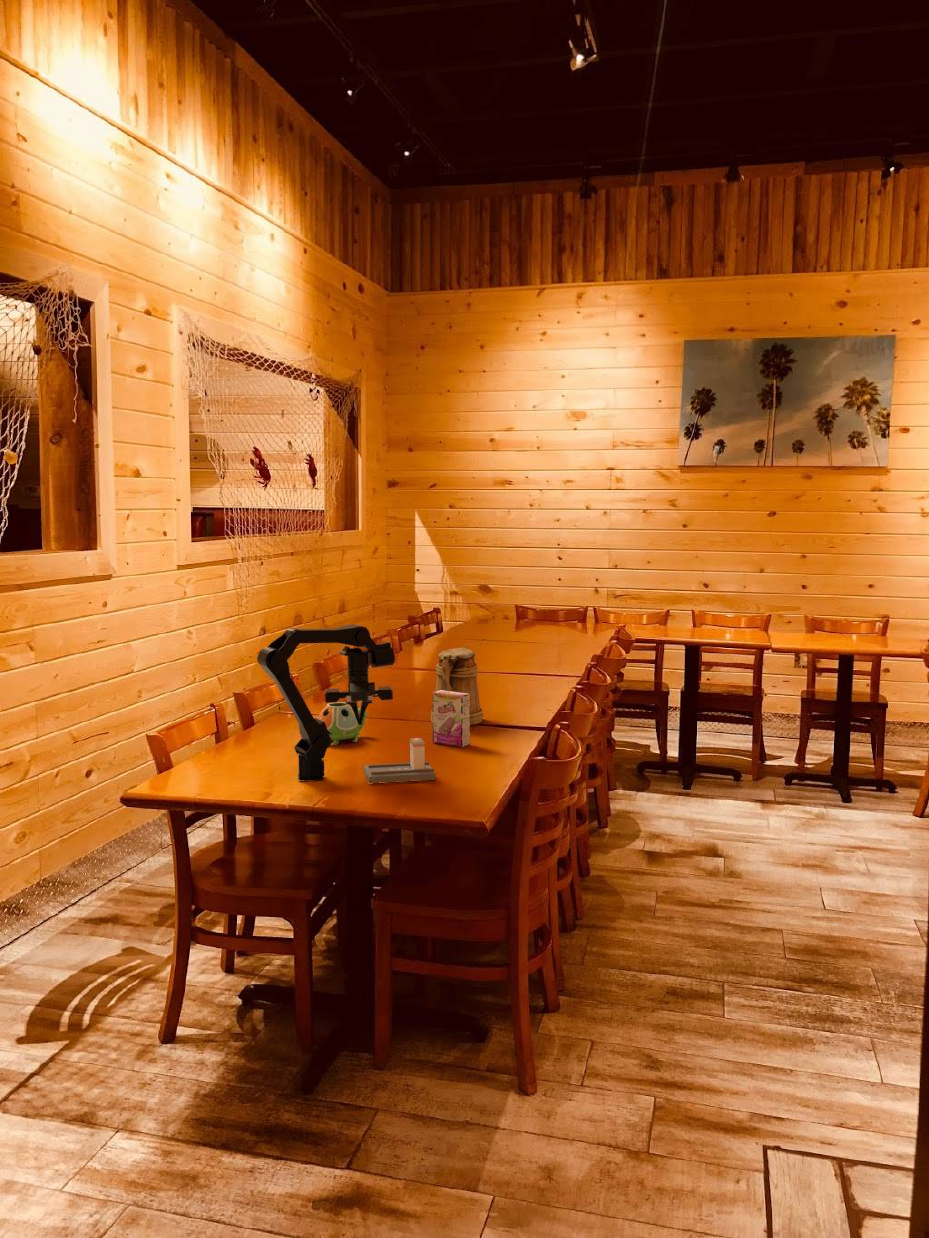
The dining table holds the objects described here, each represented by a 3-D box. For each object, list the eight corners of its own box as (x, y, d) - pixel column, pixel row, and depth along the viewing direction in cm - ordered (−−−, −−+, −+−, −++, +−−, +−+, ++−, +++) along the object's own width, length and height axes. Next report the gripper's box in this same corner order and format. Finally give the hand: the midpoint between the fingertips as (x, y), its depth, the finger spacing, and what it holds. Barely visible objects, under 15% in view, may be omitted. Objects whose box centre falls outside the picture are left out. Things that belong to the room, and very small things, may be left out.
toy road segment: (368, 784, 262) (368, 774, 261) (364, 772, 273) (364, 763, 273) (434, 780, 265) (434, 771, 265) (427, 768, 277) (427, 759, 277)
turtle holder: (378, 738, 313) (378, 702, 311) (332, 748, 301) (331, 710, 299) (355, 732, 322) (355, 696, 320) (309, 741, 309) (308, 704, 308)
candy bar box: (431, 743, 306) (431, 692, 304) (440, 740, 311) (440, 689, 309) (462, 748, 301) (462, 695, 299) (470, 744, 305) (470, 692, 303)
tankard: (488, 717, 344) (488, 647, 342) (472, 732, 322) (472, 657, 319) (438, 714, 349) (438, 645, 346) (420, 729, 326) (419, 655, 323)
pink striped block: (413, 770, 267) (413, 743, 266) (410, 764, 273) (410, 738, 272) (424, 769, 267) (424, 743, 267) (421, 764, 273) (421, 737, 273)
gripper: (324, 676, 263) (326, 733, 265) (393, 673, 265) (394, 729, 267) (324, 669, 274) (326, 723, 276) (390, 666, 276) (392, 720, 278)
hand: (359, 724), depth 274 cm, fingers closed
